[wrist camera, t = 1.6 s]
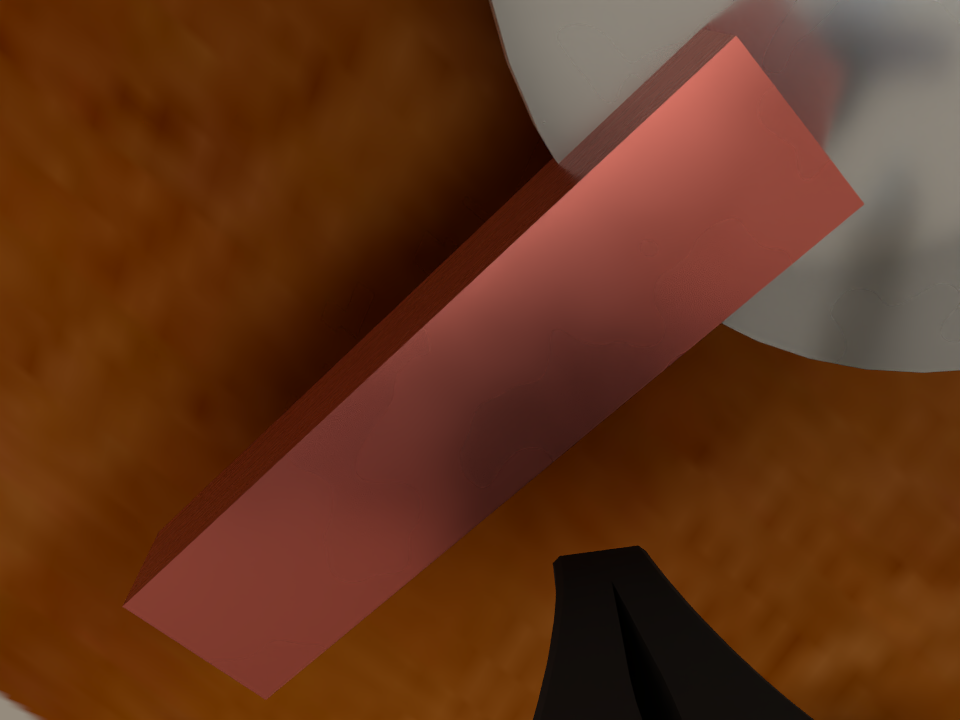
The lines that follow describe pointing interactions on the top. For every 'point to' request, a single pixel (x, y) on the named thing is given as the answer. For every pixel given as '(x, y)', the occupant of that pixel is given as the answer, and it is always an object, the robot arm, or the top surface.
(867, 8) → the lid
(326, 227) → the top surface
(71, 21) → the top surface
